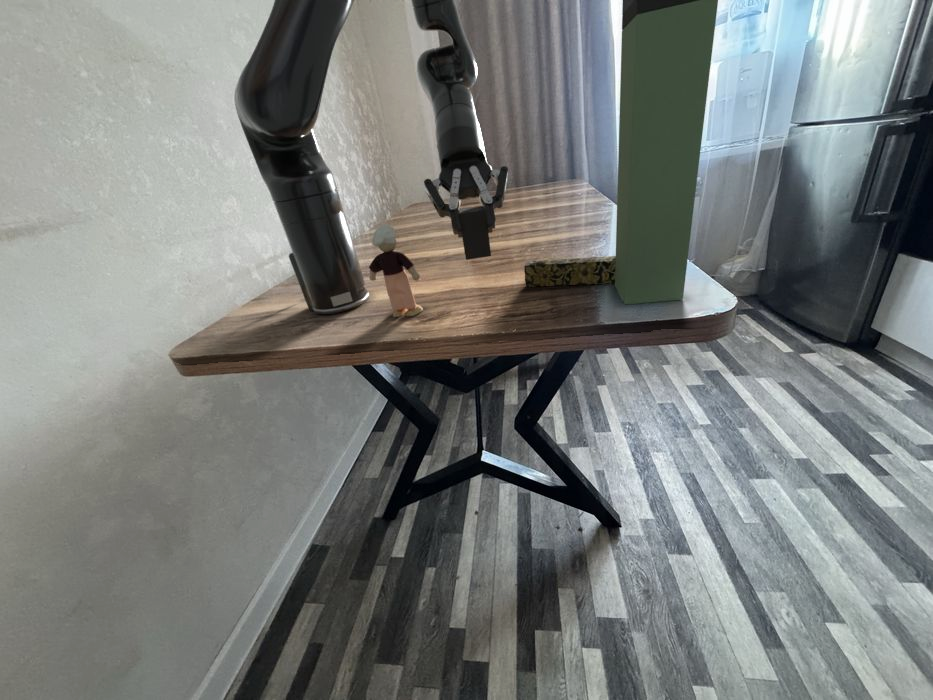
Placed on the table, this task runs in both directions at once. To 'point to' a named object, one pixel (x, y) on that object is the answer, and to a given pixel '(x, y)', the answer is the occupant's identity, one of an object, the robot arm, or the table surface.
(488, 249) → the dark gray rectangular block
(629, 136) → the tall green rectangular column
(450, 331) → the table surface
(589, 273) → the decorative block
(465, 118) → the robot arm
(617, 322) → the table surface
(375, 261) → the grandmother figurine
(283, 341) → the table surface
